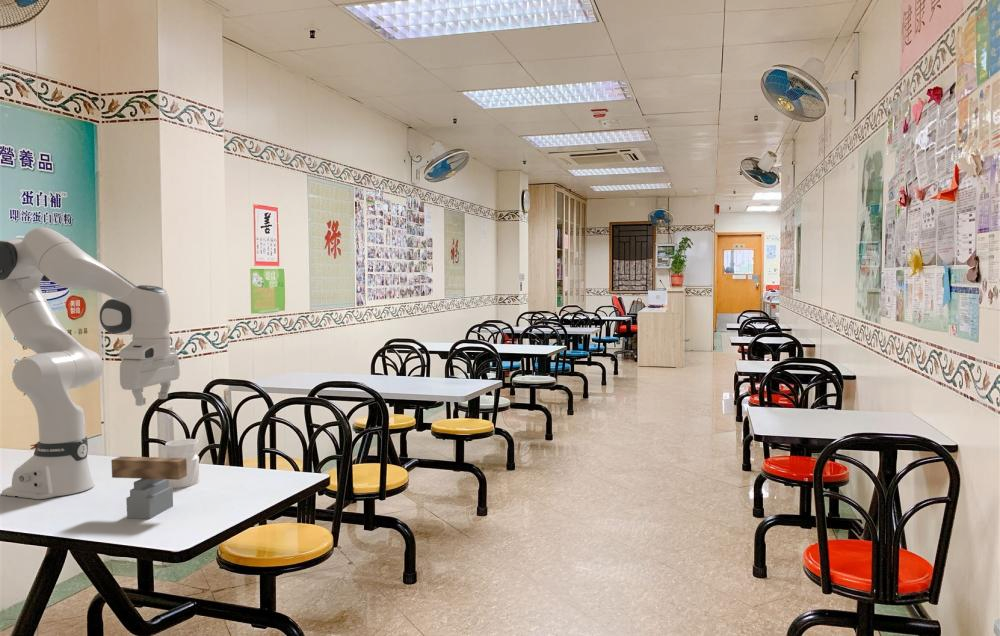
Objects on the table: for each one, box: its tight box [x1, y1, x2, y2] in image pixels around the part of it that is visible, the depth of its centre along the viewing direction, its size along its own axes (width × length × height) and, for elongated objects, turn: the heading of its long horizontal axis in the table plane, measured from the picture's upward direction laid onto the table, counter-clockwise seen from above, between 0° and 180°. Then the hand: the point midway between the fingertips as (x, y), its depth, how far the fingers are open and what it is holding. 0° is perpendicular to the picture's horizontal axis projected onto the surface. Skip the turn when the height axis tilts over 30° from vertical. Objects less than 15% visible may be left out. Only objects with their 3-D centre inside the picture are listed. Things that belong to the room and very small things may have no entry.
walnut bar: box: [110, 456, 187, 480], centre depth 180 cm, size 18×4×4 cm, turn 83°
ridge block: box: [125, 478, 174, 520], centre depth 180 cm, size 6×10×9 cm, turn 173°
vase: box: [164, 438, 201, 488], centre depth 206 cm, size 9×9×12 cm
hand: (152, 401), depth 185 cm, fingers open, 8 cm apart
